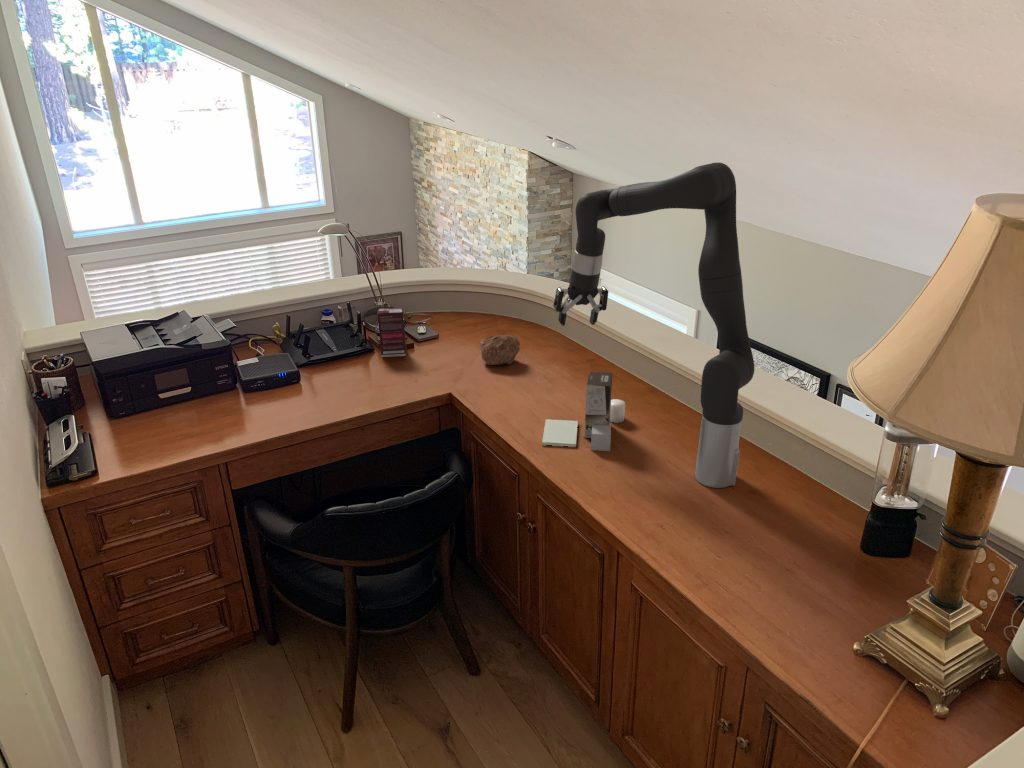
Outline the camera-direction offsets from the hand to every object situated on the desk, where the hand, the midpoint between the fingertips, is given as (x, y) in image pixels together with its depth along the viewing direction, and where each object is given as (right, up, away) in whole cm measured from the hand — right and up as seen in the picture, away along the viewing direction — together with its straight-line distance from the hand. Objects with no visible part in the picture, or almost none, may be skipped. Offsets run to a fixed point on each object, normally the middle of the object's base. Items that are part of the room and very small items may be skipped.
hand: (577, 323), depth 203 cm
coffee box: (+6, -29, +5) cm, 30 cm away
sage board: (-4, -30, +3) cm, 30 cm away
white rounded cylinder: (+12, -26, +12) cm, 31 cm away
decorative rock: (-22, -9, +48) cm, 54 cm away
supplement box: (-58, -6, +55) cm, 80 cm away
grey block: (+6, -33, -2) cm, 33 cm away
